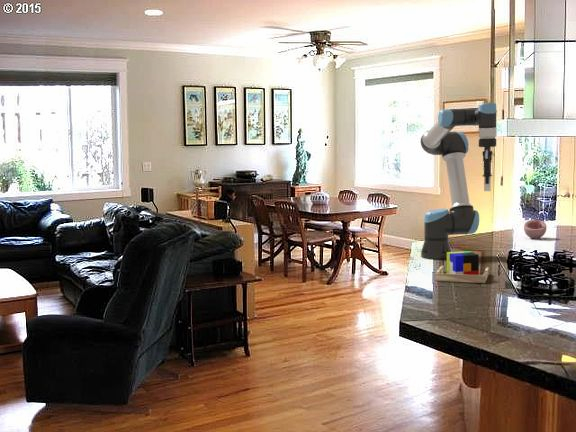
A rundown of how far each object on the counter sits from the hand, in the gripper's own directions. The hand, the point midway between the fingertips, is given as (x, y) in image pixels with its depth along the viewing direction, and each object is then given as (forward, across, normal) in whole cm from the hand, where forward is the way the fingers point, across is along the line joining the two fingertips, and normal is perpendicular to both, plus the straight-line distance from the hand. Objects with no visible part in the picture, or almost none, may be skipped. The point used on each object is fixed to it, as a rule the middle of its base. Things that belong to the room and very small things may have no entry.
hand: (487, 191), depth 295 cm
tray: (+34, +25, -8) cm, 43 cm away
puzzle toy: (+35, +24, -8) cm, 43 cm away
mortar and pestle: (+35, -91, +19) cm, 99 cm away
